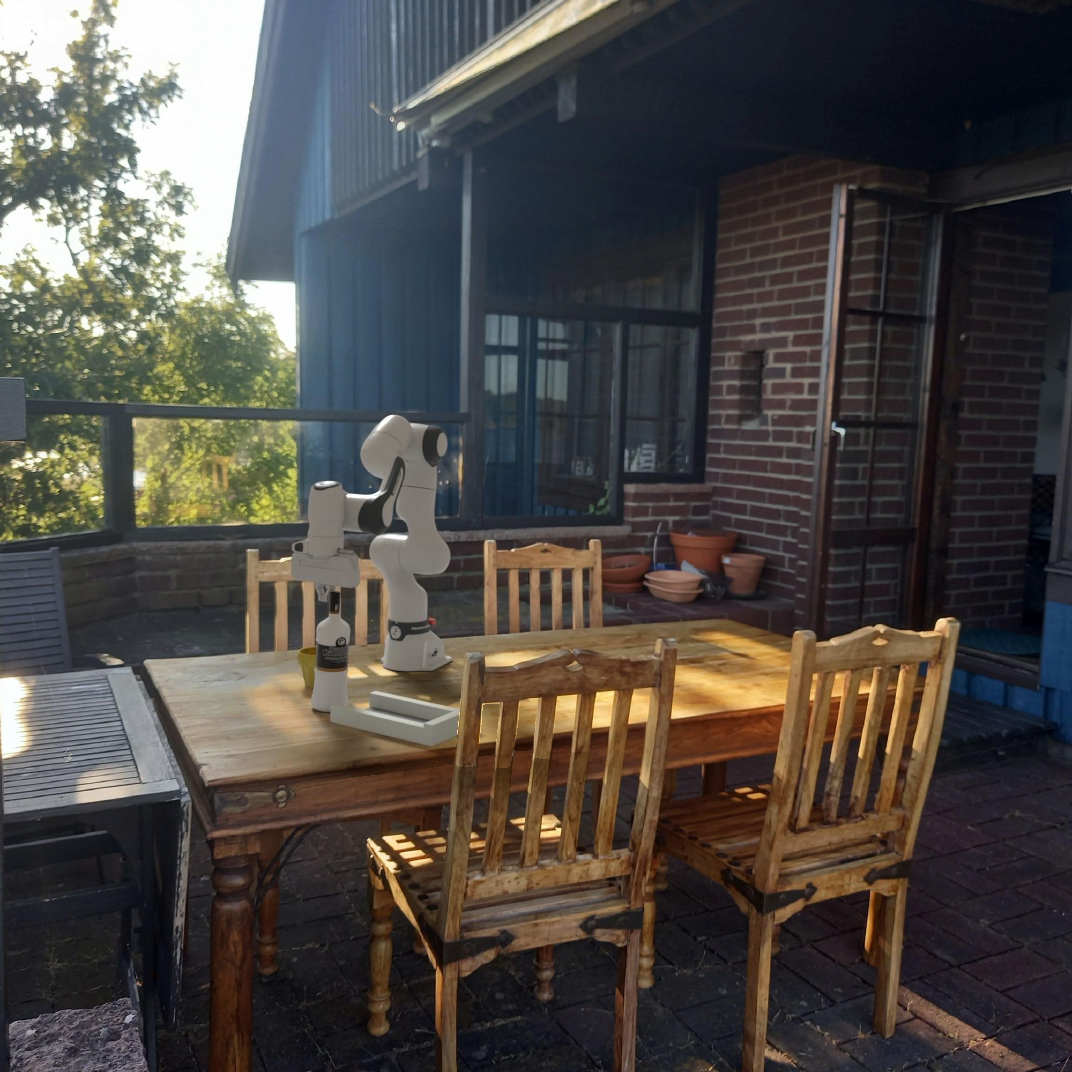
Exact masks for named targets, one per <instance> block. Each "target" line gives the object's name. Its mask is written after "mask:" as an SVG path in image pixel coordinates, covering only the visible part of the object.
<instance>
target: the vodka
mask: <svg viewBox="0 0 1072 1072" xmlns="http://www.w3.org/2000/svg"><path fill="white" fill-rule="evenodd" d="M341 594H342V592H340V591H336V590H334V591H332V592H330V602H329V606H328V607H329V611H328V617H326V618H325V619H324V620H321V621H320V622H319V623H318V624H317V627H316V630H315V631H316V638H315V641H316V666H315V669H314V671H315V681H314V688H312V695H311V699H310V705H311V707H312V708H313V709H315V710H316V711H319V712H322V713H331V706H332V705H335V704H341V705H346V706H349V697H348V672H349V668H348V666H349V650H350V649H349V648H350V642H351V640H350V637H351V636H350V635H351V628H350V625H349V623H348V622H347V621H345V620H344V619H343V618H341V617H340V615H341V613H340V611H341Z"/></svg>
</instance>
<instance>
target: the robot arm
mask: <svg viewBox="0 0 1072 1072" xmlns="http://www.w3.org/2000/svg"><path fill="white" fill-rule="evenodd" d="M448 442H449V441H448V435H447V433H446V432H445V430H444V429H443V428H442V427H439V426H436V425H433V424H430V425H429V424H423V423H422V424H421V423H416V422H415V423H414V422H410V421H409V420H408V419H406V417H404V416H401V415H398V414H390V415H387V416H386V417H384V418H383V419H382V420H380V421H379V422H378V423H377V425H376V426H374V428H373V429H372V431H371V432H370V433H369V434H368V436H367V438H366V439H365V440H364V442H363V444H362V446H361V449H360V452H359V453H360V460H361V463H362V465H363V467H364V468H365V469H366V471H367V472H368V473H369V474H371V475H372V476H374V477H375V478H379V479H381V480H382V482H381V484H380V487H379V489H378V491H377V492H375V493H371V494H360V493H352V492H351V493H349V492H347V491H346V490H344V489H343V486H342V483H341V482H339V481H336V480H326V481H325V480H324V481H319V482H316V483H314V484H312V485H311V487H310V491H309V497H308V504H307V519H308V524H309V527H308V531H307V539H303V540H301V541H297V542H293V543H292V544H291V550H292V552H293V553H292V554H291V558H290V574H291V578H292V579H293V580H295V581H301V582H302V581H303V582H309V583H314V588H315V590H316V592H317V594H318V595H317V596H318V598H317V599H318V601H319V602H324V603H330V592H332V591H336V587H340V588H345V589H346V588H348V589H353V588H357V587H358V586H359V585H360V583H361V573H360V563H359V557H358V555H357V553H356V552H355V551H354V550H353V549H344V547H345V546H344V542H345V540H344V539H345V537H344V536H345V534H344V531H347V532H354V533H355V532H356V533H365V534H369V535H375V538H373V539H372V541H371V544H370V546H369V550H368V551H369V552H368V553H369V559H370V561H371V563H372V564H373V565H374V566H375V568H377V569H378V570H379V572H380V573H381V576H382V577H383V579H384V581H385V584H386V587H387V591H388V602H389V603H388V604H389V608H388V609H389V611H388V612H389V615H388V616H389V617H388V618H387V624H386V626H387V631H388V633H387V635H386V636H385V643H384V651H383V656H382V657H381V658H380V659H381V661H380V662H381V663H382V667H383V668H385V669H388V670H391V671H401V672H418V671H420V672H421V671H422V672H424V671H425V672H427V671H428V672H432V671H435V670H437V669H439V668H440V667H443V666H444V665H446V664H448V663H450V662H452V661H453V657H452V656H450V655H448V654H445V644H444V642H443V641H444V640H442V639H441V638H440V637H439V636H437V634H435V633H434V632H433V631H432V630H431V626H435V625H436V623H437V620H436V618H431V617H429V618H428V593H427V591H426V589H424V587H422V586H421V585H420V584H419V583H418V582H417V579H416V578H415V576H414V574H415V575H424V576H427V575H428V576H429V575H437V574H438V575H439V574H442V573H444V572H445V571H446V569H447V568H448V567H449V565H450V561H451V550H450V548H449V546H448V544H447V543H446V541H445V540H443V538H442V537H441V535H440V534H439V532H438V529H437V526H436V522H435V520H436V519H435V505H436V494H437V487H438V469H437V468H438V467H437V465H438V464H439V463H440V462H442V460H443V459H444V458H445V456H446V454H447V450H448V447H449V443H448ZM394 510H395V511H396V515H397V516H398V517H399V518H400V520H402V521H403V522H404V523H406V526H407V531H408V534H400V533H385V532H386V531H387V530H388V529H389V528H390V527H391V525H392V522H393V519H394V512H395V511H394ZM384 533H385V534H384ZM324 587H325V588H324ZM325 589H326V592H325Z"/></svg>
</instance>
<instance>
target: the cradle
mask: <svg viewBox="0 0 1072 1072" xmlns="http://www.w3.org/2000/svg"><path fill="white" fill-rule="evenodd" d="M368 699H369V703H368V705H369V707H368V708H367V707H366V708H365V709H362V708H358V707H354V706H349V705H348V706H346V705H341V704H335V705H332V706H331V712H329V713H330V718H329V719H330V721H329V722H330V723H333V724H337V725H341V726H344V727H345V726H346V727H348V728H349V727H350V728H354V729H357V730H360V731H361V730H362V731H366V732H370V733H374V734H377V735H378V734H379V735H383V736H387V737H390V738H395V739H398V740H403V741H406V742H410V743H415V744H420V745H423V746H427V747H435V746H437V745H439V744H441V743H444V742H446V741H448V740H451V739H453V738H455V737H458V736H457V730H458V721H459V712H460V709H461V708H457V707H452V706H446V705H444V704H443V705H442V704H438V703H433V702H429V701H424V700H419V699H415V698H411V697H405V696H402V695H396V694H392V693H389V692H388V693H387V692H384V691H383V692H382V691H378V690H374V691H371V692H369V698H368Z"/></svg>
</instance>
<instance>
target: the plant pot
mask: <svg viewBox="0 0 1072 1072" xmlns="http://www.w3.org/2000/svg"><path fill="white" fill-rule="evenodd" d="M316 646H317V645H316ZM316 646H306V647H303V648H300V649H298V651H297V660H298V661H297V662H298V664H299V665H300V666H301V667H300V668H301V672H302V676H303V682H304V686H305V687H306V688H309V689H314V681H315V671H314V669H315V666H316Z"/></svg>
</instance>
